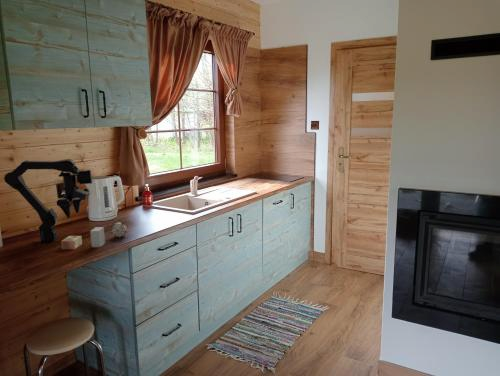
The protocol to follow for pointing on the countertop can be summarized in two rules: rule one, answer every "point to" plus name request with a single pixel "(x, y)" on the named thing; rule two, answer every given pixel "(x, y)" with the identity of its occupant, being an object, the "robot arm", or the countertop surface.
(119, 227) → the grey knobbly lump
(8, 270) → the countertop surface
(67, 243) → the birch block
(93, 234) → the grey block
